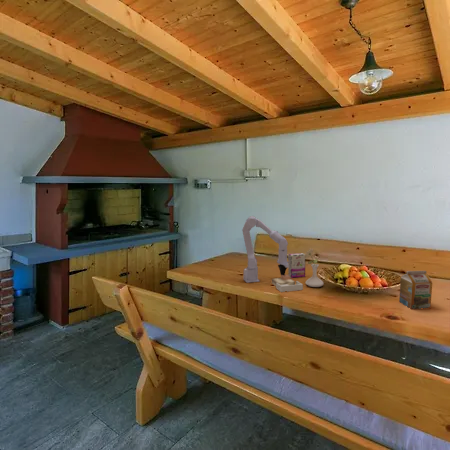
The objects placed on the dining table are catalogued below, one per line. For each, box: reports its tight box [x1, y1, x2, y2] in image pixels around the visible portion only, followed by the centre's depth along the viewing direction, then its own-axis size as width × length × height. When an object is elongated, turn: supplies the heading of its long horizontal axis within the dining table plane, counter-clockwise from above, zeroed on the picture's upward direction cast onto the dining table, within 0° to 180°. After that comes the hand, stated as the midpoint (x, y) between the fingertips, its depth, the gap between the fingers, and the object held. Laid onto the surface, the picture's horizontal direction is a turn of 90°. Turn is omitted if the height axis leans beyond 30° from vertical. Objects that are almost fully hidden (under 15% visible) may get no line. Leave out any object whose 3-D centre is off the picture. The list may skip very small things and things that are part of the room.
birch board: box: [271, 277, 296, 287], centre depth 212 cm, size 12×10×3 cm
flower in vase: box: [304, 247, 324, 288], centre depth 207 cm, size 13×11×25 cm
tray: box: [275, 280, 304, 293], centre depth 202 cm, size 15×8×4 cm, turn 104°
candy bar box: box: [287, 252, 306, 279], centre depth 228 cm, size 11×5×16 cm, turn 104°
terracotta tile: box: [280, 274, 291, 280], centre depth 214 cm, size 4×4×2 cm
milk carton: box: [398, 270, 433, 310], centre depth 172 cm, size 11×11×19 cm
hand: (282, 275), depth 219 cm, fingers closed
